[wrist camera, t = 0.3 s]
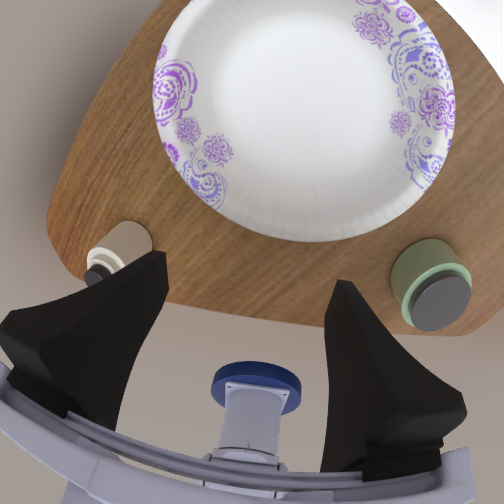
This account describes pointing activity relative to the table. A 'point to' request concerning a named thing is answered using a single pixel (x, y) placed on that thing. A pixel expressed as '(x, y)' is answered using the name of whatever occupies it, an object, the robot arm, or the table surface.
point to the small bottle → (117, 251)
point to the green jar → (430, 285)
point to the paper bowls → (304, 112)
